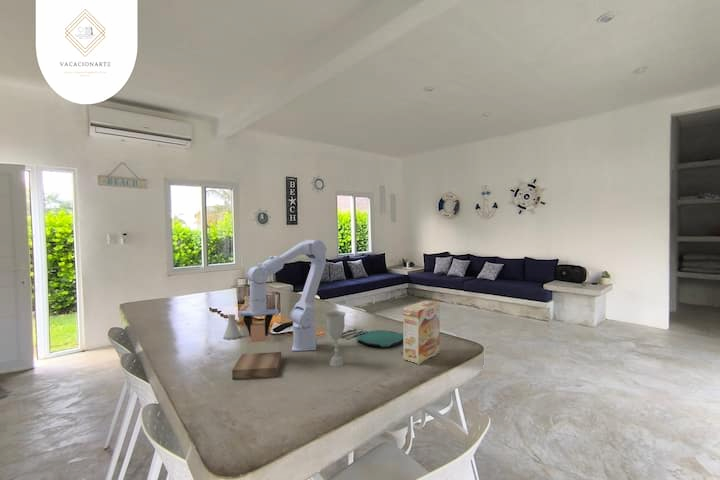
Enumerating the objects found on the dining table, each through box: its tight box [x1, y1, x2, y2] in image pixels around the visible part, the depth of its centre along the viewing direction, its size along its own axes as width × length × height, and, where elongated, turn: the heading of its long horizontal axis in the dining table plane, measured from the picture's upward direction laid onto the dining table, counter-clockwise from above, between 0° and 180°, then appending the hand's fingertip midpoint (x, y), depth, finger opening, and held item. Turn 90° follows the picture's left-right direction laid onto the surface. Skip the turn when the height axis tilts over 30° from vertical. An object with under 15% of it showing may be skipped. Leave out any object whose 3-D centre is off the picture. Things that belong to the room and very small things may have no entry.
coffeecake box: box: [402, 300, 441, 365], centre depth 129 cm, size 15×7×20 cm, turn 137°
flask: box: [223, 313, 242, 340], centre depth 154 cm, size 7×7×10 cm
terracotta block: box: [250, 321, 268, 343], centre depth 129 cm, size 5×5×6 cm
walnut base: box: [231, 351, 282, 380], centre depth 120 cm, size 14×14×3 cm
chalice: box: [325, 310, 347, 367], centre depth 123 cm, size 7×7×18 cm
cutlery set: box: [340, 328, 403, 348], centre depth 150 cm, size 20×30×2 cm, turn 51°
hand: (258, 335), depth 129 cm, fingers closed on terracotta block, 5 cm apart
